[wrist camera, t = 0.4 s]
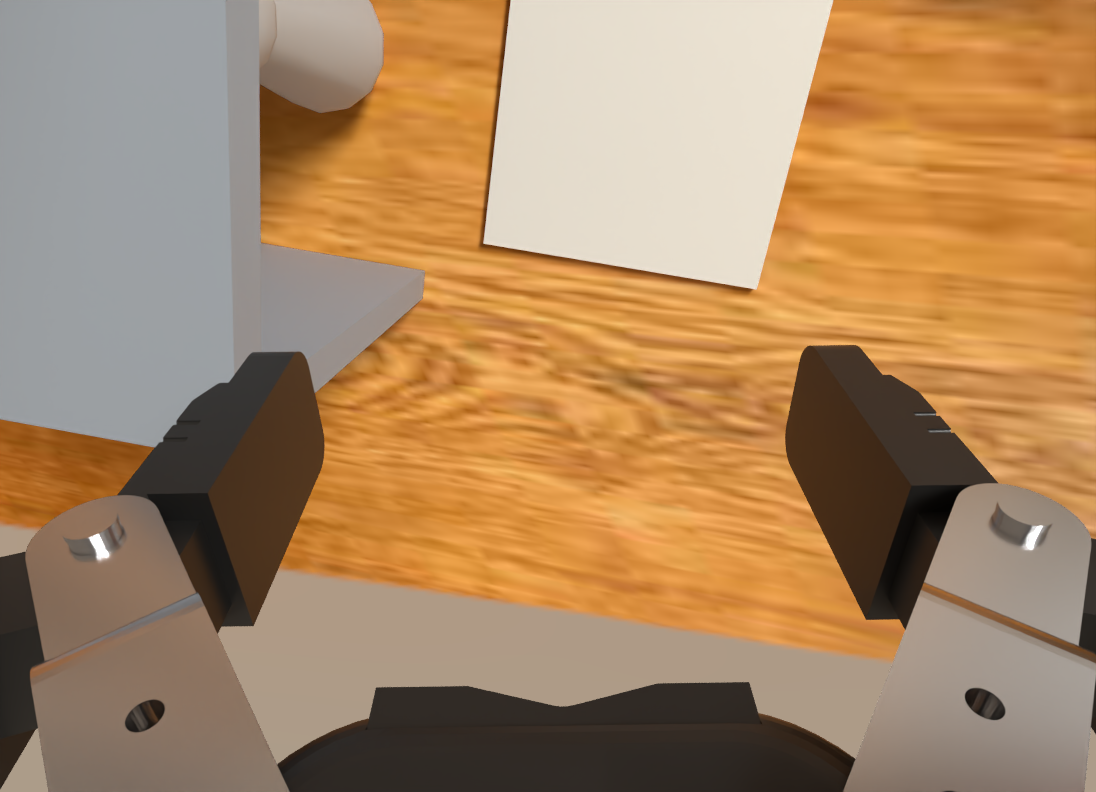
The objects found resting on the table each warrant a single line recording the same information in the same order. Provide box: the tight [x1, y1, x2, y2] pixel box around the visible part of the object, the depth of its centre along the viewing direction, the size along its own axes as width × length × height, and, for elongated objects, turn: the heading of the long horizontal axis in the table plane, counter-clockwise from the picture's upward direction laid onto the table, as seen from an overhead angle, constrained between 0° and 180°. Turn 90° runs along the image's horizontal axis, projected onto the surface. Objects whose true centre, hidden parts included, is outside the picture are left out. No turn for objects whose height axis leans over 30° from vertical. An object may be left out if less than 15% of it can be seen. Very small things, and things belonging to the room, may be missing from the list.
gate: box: [0, 0, 425, 447], centre depth 24 cm, size 23×10×20 cm, turn 171°
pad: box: [483, 0, 833, 289], centre depth 33 cm, size 16×14×1 cm
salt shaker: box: [259, 0, 384, 113], centre depth 27 cm, size 6×6×13 cm
